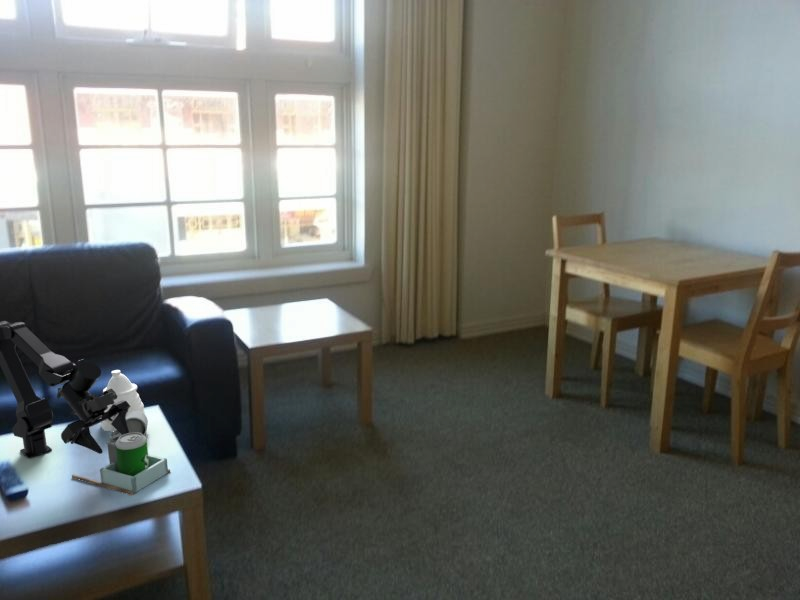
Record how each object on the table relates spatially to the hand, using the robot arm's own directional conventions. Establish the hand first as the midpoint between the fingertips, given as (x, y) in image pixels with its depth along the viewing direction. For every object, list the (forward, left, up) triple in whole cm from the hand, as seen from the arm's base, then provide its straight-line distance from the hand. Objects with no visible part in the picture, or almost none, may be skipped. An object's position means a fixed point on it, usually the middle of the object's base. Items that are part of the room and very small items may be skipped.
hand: (115, 445), depth 176 cm
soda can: (+6, +2, -9) cm, 10 cm away
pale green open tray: (+5, +2, -8) cm, 10 cm away
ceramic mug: (-19, +13, -9) cm, 25 cm away
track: (+1, 0, -8) cm, 8 cm away
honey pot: (-31, +16, -9) cm, 36 cm away
